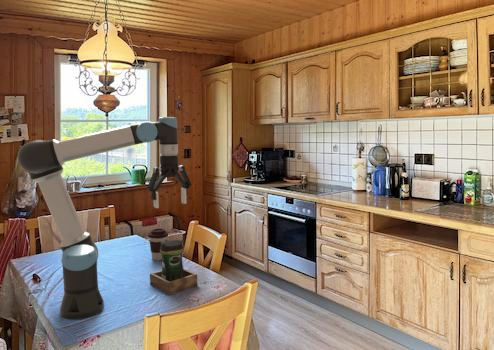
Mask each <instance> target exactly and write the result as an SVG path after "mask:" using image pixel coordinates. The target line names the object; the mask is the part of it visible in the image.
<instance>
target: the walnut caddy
mask: <svg viewBox="0 0 494 350" xmlns="http://www.w3.org/2000/svg"><path fill="white" fill-rule="evenodd" d="M183 270H184V277H183V278H180V279H177V280H174V281H167V280H165V279H163V278H161V275H162V269H161V270H158V271H155V272H151V273H149V285H150V286H152V287H153V288H156V289H158V290H159V291H161V292H163V293H165V294H167V295H169V296H171V295H174V294H176V293H180V292H182V291H185V290H188V289H191V288H194V287H197V286H198V274H197V273H195V272H194V271H191V270H188V269H186V268H184V267H183Z"/></svg>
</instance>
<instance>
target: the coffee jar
mask: <svg viewBox="0 0 494 350" xmlns="http://www.w3.org/2000/svg"><path fill="white" fill-rule="evenodd" d="M160 252H161V254H162V260H161V261H162V263H161V270H162V275H161V278H163V279H165V280H167V281H174V280H177V279H180V278H183V277H184V270H183V268H184V266H183V265H184V263H183V252H184V244H183V241H182V240H181V239H179V238H177V239H170V240H167V241H162V242H161V245H160Z"/></svg>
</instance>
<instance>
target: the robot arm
mask: <svg viewBox="0 0 494 350" xmlns="http://www.w3.org/2000/svg"><path fill="white" fill-rule="evenodd" d="M178 131H179V129H178V119H177V117H174V116H164V117H163V116H161V117H160V116H159V117H158V120H157V121H147V120H143V121H130V122H129V123H128V125H125V126H120V127H114V128H111V129H106V130H103V131H98V132H94V133H93V132H92V133H88V134H85V135H81V136H76V137H71V138H67V139H64V140H63V139H62V140H56V139H50V140H49V139H48V140H44V139H36V140H32V141H29V142H26V143H24V144H23V145H22V146H21V147H20V148H19V150H18V152H17V161H18V164H19V166H20V167H21V169H23V170H24V171H25V172H27V173H28V175H29V177H30V179H31V181H32V182H35V183H37V185H38V187H39V189H40V192H41V193H42V195H43V196H42V197H43V198H44V201H45V203H46V205H47V208H48V210H49V212H50V214H51V218H52V220H53V222H54V224H55V226H56V228H57V232H58V233H59V236H60V238H61V242H60V243H59V248H60V249H61V251H62V254H61V266H62V278H63V296H62V299H61V304H60V306H59V315H60V314H61V315H60V316H62V317H61V318H63V317H64V318H63V319H66V318H67V319H66V320H83V319H87V318H88V319H89V318H91V317H94V316H96V315H98V314H100V313H101V312H102V311H103V310H104V309H105V303H104V298H103V296H102V294H101V292H100V289H99V284H98V283H99V280H98V258H99V249H98V246H97V244H96V243H95V242H94V241H93V238H92V236H91V233H90V232H88V231H85V230H84V228H83V225H82V223H81V219H80V218H79V215H78V212H77V211H76V208H75V205H74V203H73V200H72V198H71V196H70V194H69V191H68V188H67V186H66V183H65V182H64V178H63V177H62V174H63V171H64V168H63V166H64V164H65V163H67V162H70V161H75V160H79V159H82V158H86V157H87V158H88V157H91V156H94V155H95V156H96V155H99V154H103V153H107V152H111V151H115V150H118V149H123V148H129V147H131V146H137V145H140V144H145V143H151V142H154V141H158V142H159V143H158V144H159V155H160V156H159V164H160V167H156V166H155V167H153V168H152V169H153V170H152V175H151V178H150V180H149V182H148V185H147V188H146V190H147V191H148V192H150V193H151V200H153V201H152V202H153V208H155V209H159V208H160V204H159V203H160V201H159V192H158V190H159V188H160V186H161V185H162V184H163V182H164V181H165V180H166V178H167V179H168V178H174V179H176V181H177V182H178V183H179V184H180V186H181V187H180V195H181V196H180V198H181V200H180V201H181V203H180V204H184V205H185V204H187V196H188V191H189V190H188V189H190V187H192V183H191V180H190V179H189V176H188V174H187V171H186V167H185V165H183V164H180V165H179V156H178V154H179V139H178V137H179V135H178V133H179V132H178ZM178 171H179V172H180V173H179V172H178ZM180 174H181V175H180ZM158 176H159V177H158Z"/></svg>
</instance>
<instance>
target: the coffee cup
mask: <svg viewBox="0 0 494 350" xmlns="http://www.w3.org/2000/svg"><path fill="white" fill-rule="evenodd" d="M147 235H148V238H149V247H150V252H151V259H152V260H153V261H162V254H161V252H160V245H161V242H162V241H168V236H169V232H168V231H166V230H165V228H153V229H151V231H150V232H149V233H148V234H147Z"/></svg>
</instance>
